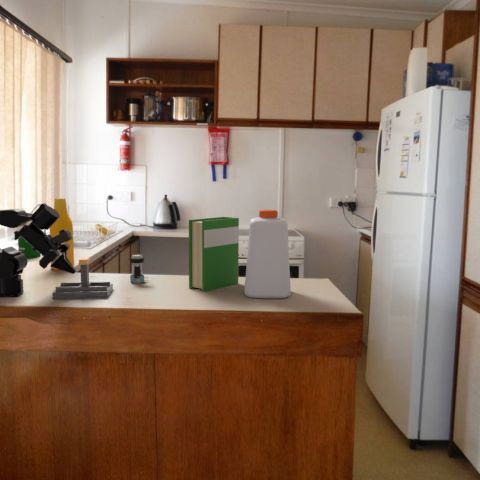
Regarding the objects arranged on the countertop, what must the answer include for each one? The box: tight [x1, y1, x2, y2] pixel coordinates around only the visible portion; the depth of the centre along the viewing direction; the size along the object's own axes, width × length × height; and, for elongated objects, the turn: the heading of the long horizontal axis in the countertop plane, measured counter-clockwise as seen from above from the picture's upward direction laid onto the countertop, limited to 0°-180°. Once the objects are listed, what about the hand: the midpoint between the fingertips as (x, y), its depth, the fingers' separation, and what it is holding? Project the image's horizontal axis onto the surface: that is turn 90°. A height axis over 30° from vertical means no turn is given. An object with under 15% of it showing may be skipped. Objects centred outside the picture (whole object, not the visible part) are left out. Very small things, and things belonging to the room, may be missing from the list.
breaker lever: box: [78, 257, 91, 286], centre depth 165 cm, size 3×5×10 cm, turn 7°
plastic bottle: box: [243, 209, 292, 299], centre depth 167 cm, size 15×15×28 cm
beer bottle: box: [48, 197, 75, 271], centre depth 209 cm, size 9×9×29 cm
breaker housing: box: [51, 281, 114, 300], centre depth 166 cm, size 17×12×3 cm
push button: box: [129, 254, 149, 284], centre depth 184 cm, size 7×5×10 cm
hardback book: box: [188, 216, 240, 293], centre depth 178 cm, size 18×7×24 cm, turn 139°
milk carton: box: [16, 221, 42, 259], centre depth 236 cm, size 9×9×20 cm
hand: (74, 272), depth 165 cm, fingers closed
